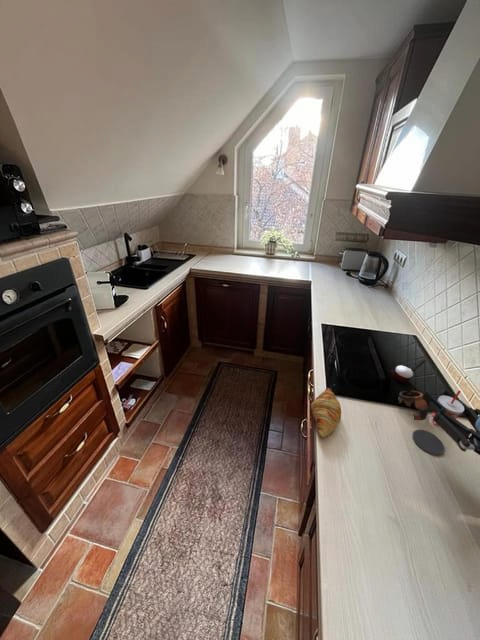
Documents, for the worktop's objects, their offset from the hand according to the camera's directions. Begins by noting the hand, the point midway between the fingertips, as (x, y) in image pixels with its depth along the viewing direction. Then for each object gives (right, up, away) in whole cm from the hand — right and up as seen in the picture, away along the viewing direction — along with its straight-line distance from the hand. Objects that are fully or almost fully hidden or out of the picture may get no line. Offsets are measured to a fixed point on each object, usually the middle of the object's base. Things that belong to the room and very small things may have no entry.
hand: (435, 393), depth 77 cm
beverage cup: (0, -9, 0) cm, 9 cm away
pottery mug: (+4, -10, +15) cm, 18 cm away
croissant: (-30, -11, +12) cm, 34 cm away
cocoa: (+8, -2, +28) cm, 29 cm away
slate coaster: (+1, -16, +4) cm, 17 cm away
